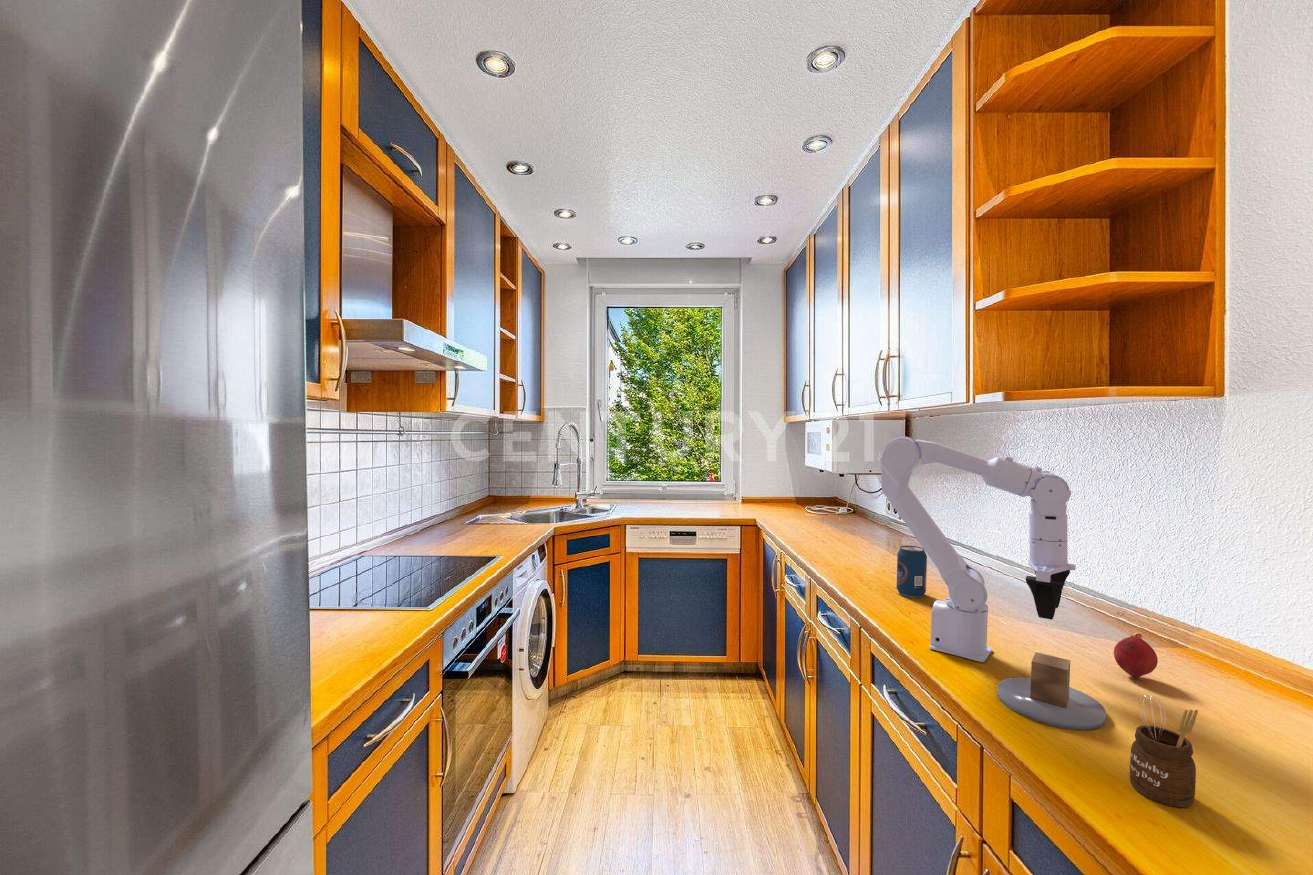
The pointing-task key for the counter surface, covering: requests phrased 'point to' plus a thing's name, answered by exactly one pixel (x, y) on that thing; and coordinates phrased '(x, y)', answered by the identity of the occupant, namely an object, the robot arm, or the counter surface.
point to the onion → (1135, 656)
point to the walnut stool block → (1050, 679)
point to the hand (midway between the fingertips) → (1048, 612)
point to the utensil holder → (1164, 762)
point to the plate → (1052, 706)
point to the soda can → (911, 571)
